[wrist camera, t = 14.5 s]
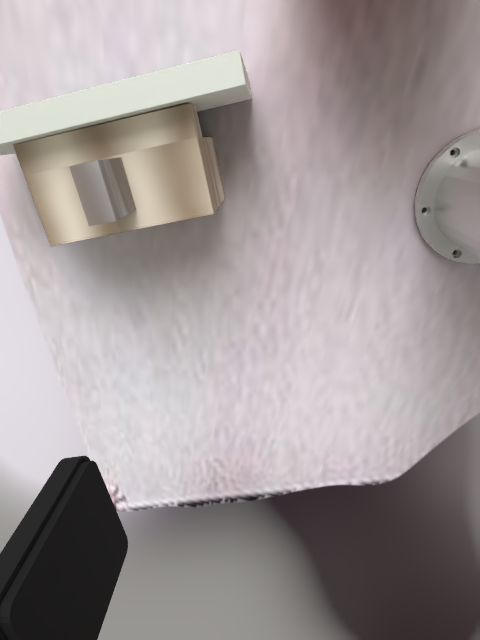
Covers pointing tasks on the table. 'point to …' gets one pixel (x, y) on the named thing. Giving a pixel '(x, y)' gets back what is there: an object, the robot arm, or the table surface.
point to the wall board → (129, 99)
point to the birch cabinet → (122, 175)
